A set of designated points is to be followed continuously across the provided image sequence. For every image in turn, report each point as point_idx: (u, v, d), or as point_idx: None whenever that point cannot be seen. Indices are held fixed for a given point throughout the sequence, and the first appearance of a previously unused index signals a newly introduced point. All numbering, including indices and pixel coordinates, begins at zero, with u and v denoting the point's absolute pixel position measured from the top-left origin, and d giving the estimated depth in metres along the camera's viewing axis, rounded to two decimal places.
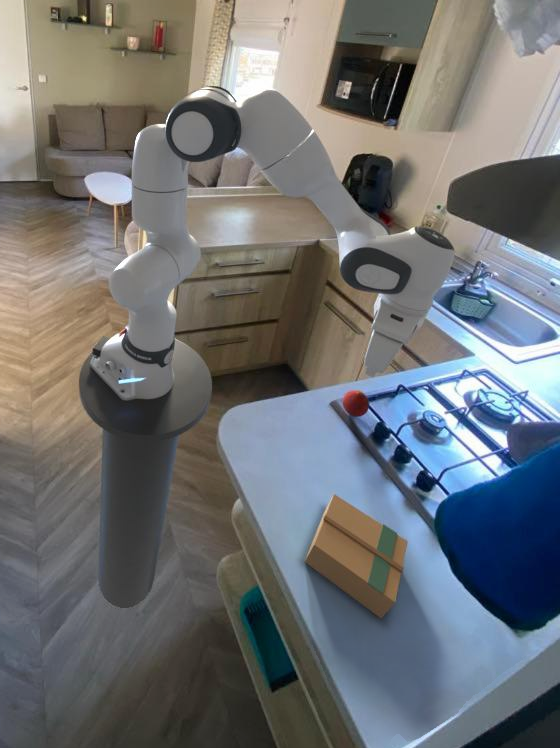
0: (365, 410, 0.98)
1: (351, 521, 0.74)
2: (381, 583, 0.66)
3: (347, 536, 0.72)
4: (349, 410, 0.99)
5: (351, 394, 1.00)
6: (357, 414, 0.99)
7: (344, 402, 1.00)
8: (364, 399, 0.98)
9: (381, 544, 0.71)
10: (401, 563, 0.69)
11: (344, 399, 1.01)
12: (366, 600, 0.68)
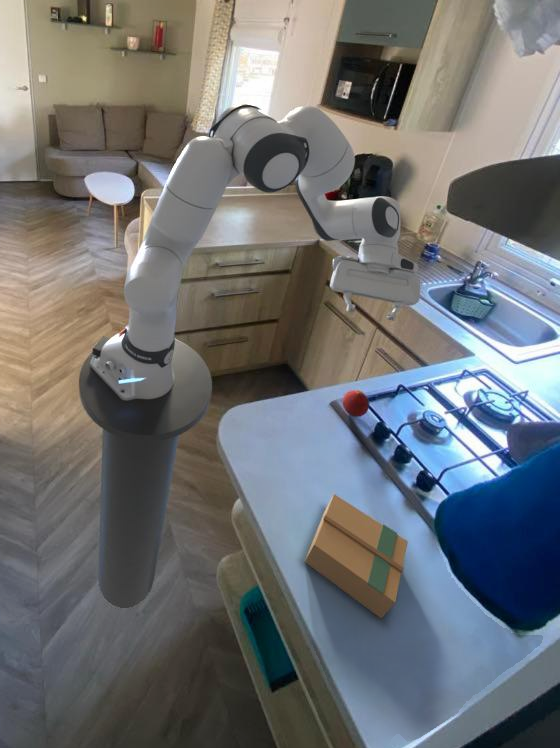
0: (365, 410, 0.98)
1: (351, 521, 0.74)
2: (381, 583, 0.66)
3: (347, 536, 0.72)
4: (349, 410, 0.99)
5: (351, 394, 1.00)
6: (357, 414, 0.99)
7: (344, 402, 1.00)
8: (364, 399, 0.98)
9: (381, 544, 0.71)
10: (401, 563, 0.69)
11: (344, 399, 1.01)
12: (366, 600, 0.68)
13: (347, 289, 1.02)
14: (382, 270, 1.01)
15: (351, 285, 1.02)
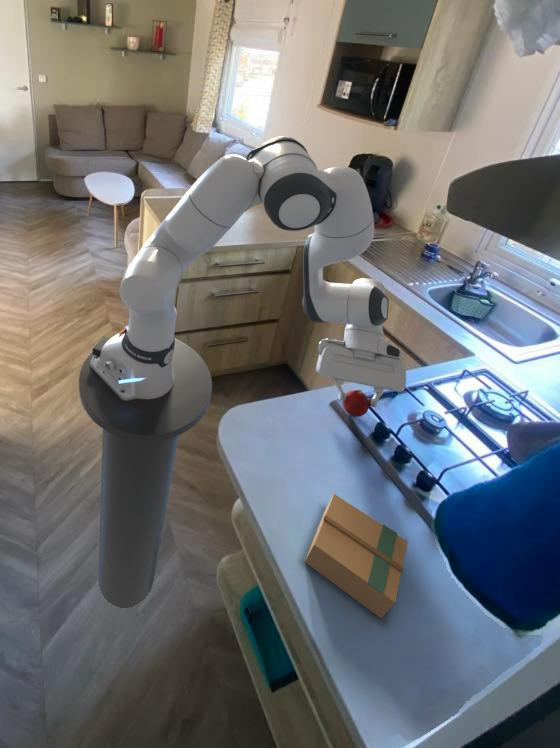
0: (365, 410, 0.98)
1: (351, 521, 0.74)
2: (381, 583, 0.66)
3: (347, 536, 0.72)
4: (349, 410, 0.99)
5: (351, 394, 1.00)
6: (357, 414, 0.99)
7: (344, 402, 1.00)
8: (364, 399, 0.98)
9: (381, 544, 0.71)
10: (401, 563, 0.69)
11: None
12: (366, 600, 0.68)
13: (334, 376, 1.00)
14: (368, 357, 1.00)
15: (338, 371, 1.00)
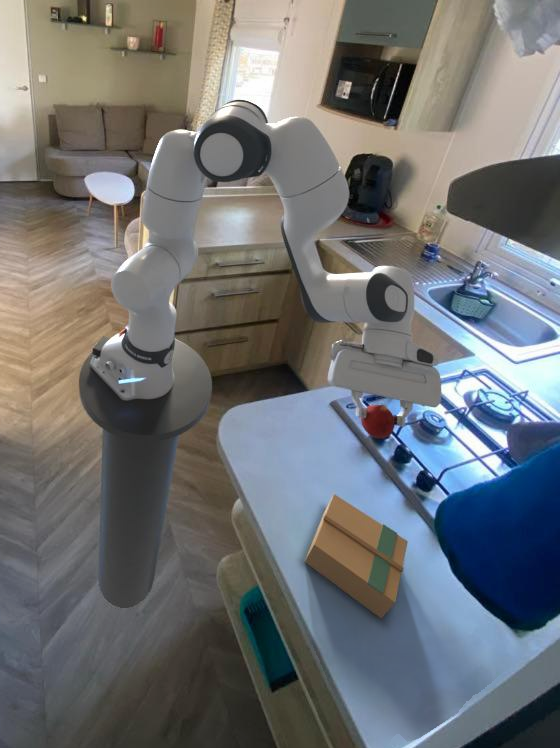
0: (390, 430, 0.78)
1: (351, 521, 0.74)
2: (381, 583, 0.66)
3: (347, 536, 0.72)
4: (369, 430, 0.79)
5: (372, 410, 0.80)
6: (380, 435, 0.79)
7: (363, 420, 0.80)
8: (389, 417, 0.78)
9: (381, 544, 0.71)
10: (401, 563, 0.69)
11: None
12: (366, 600, 0.68)
13: (350, 387, 0.80)
14: (394, 364, 0.79)
15: (356, 382, 0.80)
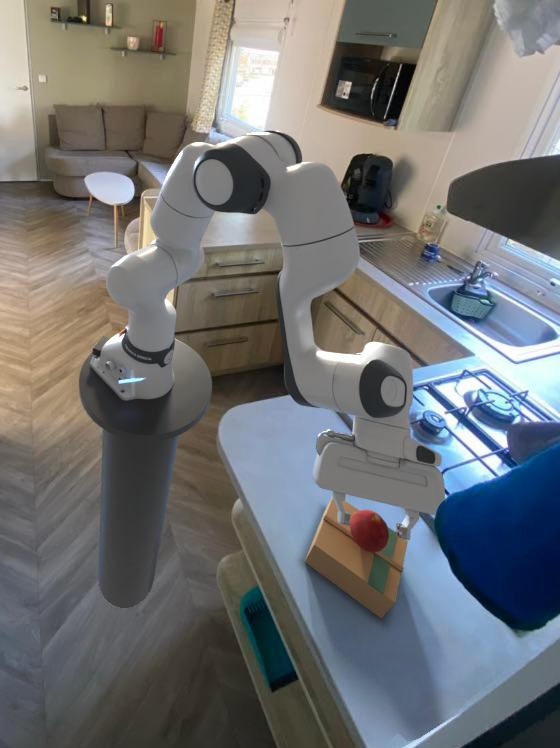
0: (384, 545, 0.67)
1: None
2: (381, 583, 0.66)
3: (347, 536, 0.72)
4: (360, 543, 0.68)
5: (363, 520, 0.68)
6: (372, 550, 0.67)
7: (353, 530, 0.69)
8: (382, 529, 0.67)
9: None
10: (401, 563, 0.69)
11: (353, 525, 0.69)
12: (366, 600, 0.68)
13: (338, 490, 0.69)
14: (389, 464, 0.68)
15: (345, 483, 0.69)
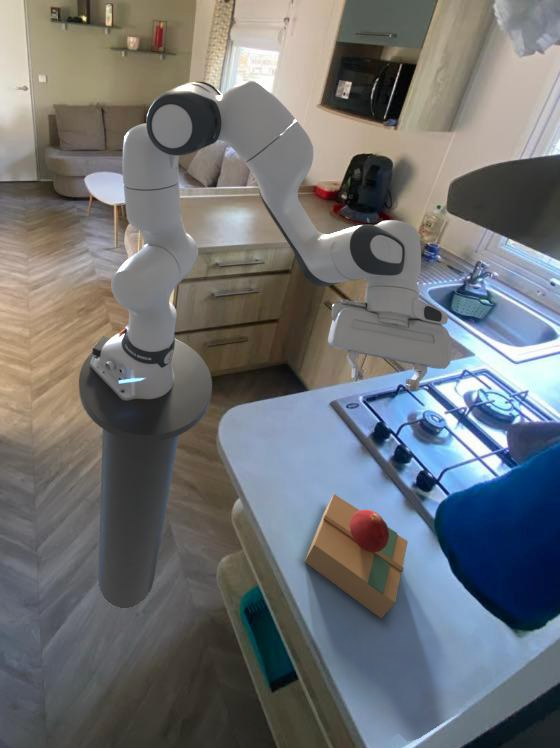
0: (384, 545, 0.67)
1: None
2: (381, 583, 0.66)
3: (347, 536, 0.72)
4: (359, 543, 0.68)
5: (363, 520, 0.68)
6: (372, 550, 0.67)
7: (353, 530, 0.69)
8: (382, 530, 0.67)
9: None
10: (401, 563, 0.69)
11: (353, 525, 0.69)
12: (366, 600, 0.68)
13: (352, 348, 0.74)
14: (400, 322, 0.74)
15: (358, 342, 0.75)
